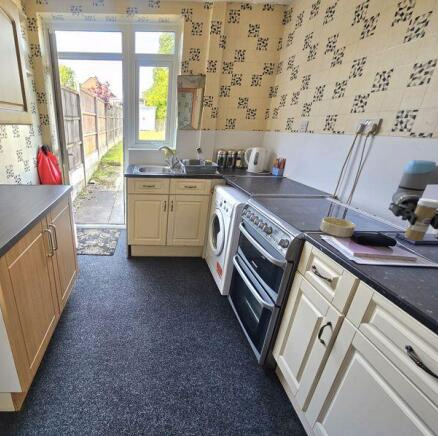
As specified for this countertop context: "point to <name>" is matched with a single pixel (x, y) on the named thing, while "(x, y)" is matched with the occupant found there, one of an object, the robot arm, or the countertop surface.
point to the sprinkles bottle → (422, 219)
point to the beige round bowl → (337, 227)
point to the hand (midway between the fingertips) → (425, 223)
